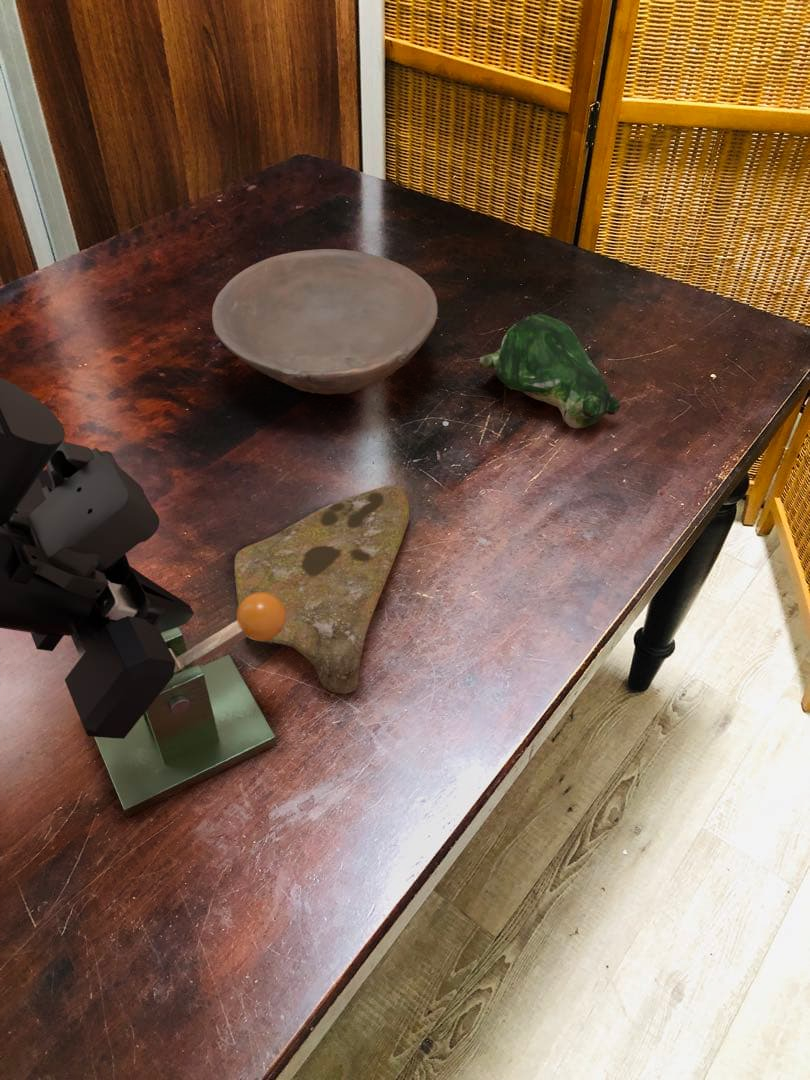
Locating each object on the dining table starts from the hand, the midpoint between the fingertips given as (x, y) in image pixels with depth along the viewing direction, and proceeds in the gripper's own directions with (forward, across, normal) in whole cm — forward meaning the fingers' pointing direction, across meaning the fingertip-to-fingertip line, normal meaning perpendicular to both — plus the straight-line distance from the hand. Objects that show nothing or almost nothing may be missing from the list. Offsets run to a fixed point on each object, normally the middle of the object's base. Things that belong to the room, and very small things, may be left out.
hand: (189, 614), depth 60 cm
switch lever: (+6, 0, +3) cm, 6 cm away
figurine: (+44, +20, -24) cm, 54 cm away
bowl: (+31, +38, -11) cm, 50 cm away
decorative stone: (+20, +10, 0) cm, 22 cm away
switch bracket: (+8, 0, +11) cm, 14 cm away
